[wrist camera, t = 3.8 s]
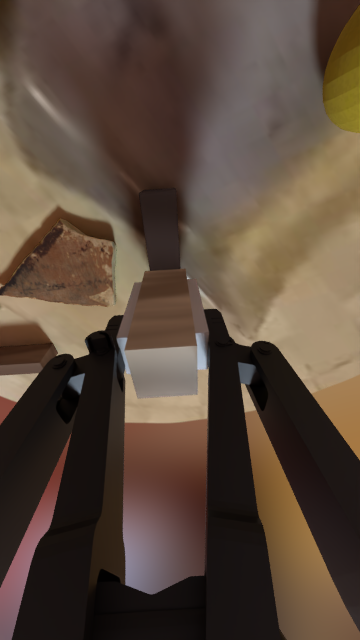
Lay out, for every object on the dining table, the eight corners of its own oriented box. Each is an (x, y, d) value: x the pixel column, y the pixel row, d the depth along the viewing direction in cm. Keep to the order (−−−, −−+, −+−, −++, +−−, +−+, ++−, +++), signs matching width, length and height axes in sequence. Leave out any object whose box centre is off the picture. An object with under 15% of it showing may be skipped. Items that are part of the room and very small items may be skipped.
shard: (6, 288, 21) (-7, 296, 19) (-23, 200, 16) (-42, 203, 15) (118, 302, 22) (114, 311, 21) (118, 225, 18) (113, 230, 16)
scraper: (138, 190, 16) (86, 218, 6) (180, 187, 16) (196, 211, 6) (159, 333, 24) (150, 444, 14) (186, 331, 24) (197, 441, 14)
